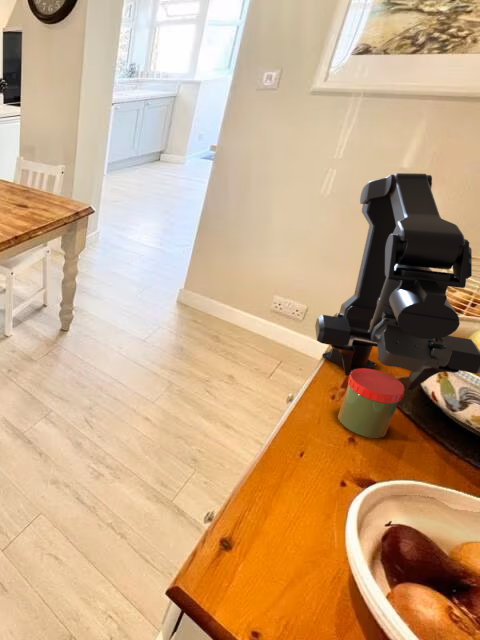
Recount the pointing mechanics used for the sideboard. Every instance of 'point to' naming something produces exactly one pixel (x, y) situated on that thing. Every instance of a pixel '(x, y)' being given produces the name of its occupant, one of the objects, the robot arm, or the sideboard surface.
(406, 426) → the sideboard surface
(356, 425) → the jam jar
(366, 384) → the lid
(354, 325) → the robot arm
